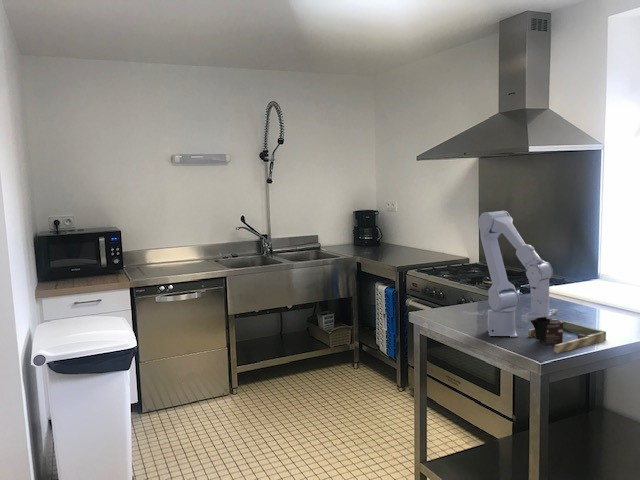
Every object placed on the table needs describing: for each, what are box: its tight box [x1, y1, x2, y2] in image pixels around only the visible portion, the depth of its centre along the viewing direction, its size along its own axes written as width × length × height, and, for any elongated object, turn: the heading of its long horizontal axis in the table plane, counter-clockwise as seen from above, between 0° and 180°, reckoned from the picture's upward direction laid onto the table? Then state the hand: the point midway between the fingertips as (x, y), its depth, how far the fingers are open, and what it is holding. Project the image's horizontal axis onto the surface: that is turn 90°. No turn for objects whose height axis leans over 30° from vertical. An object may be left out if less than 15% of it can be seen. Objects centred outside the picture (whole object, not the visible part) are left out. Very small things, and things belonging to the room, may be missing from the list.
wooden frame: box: [528, 320, 607, 354], centre depth 179 cm, size 23×17×3 cm
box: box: [538, 318, 564, 346], centre depth 177 cm, size 6×6×7 cm
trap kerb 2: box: [577, 333, 587, 339], centre depth 174 cm, size 1×2×3 cm, turn 26°
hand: (540, 339), depth 174 cm, fingers closed
